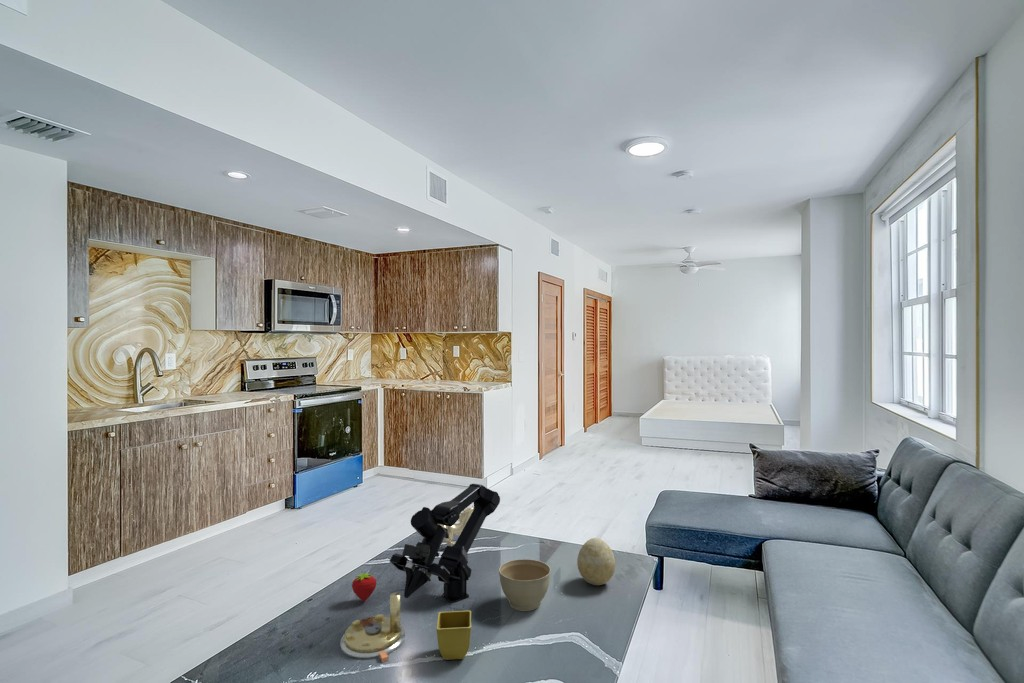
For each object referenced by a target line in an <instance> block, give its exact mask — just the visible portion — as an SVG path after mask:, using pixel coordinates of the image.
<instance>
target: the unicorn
mask: <svg viewBox="0 0 1024 683" xmlns="http://www.w3.org/2000/svg"><path fill="white" fill-rule="evenodd" d="M473 510H474V505H472V507H467V508H466V509H464V510H463V511H462V512H461V513H460V517H459V519H458V520H457V522H458V523H455V524H454V525H453V526H451V527H450V526H445V525H441V526H442V527H443V528H445V529H448V534H449V538H444V540H445V543H446V544H447V546H453V545H454V544H455V543H456V541H453V540H454V535H456V536H460V534H461V532H462V530H463V528H464V526H465V525H466V523H467V521H468V519H469V517H470V516H471V514H472V512H473ZM438 525H440V524H438Z"/></svg>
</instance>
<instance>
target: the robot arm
mask: <svg viewBox="0 0 1024 683" xmlns="http://www.w3.org/2000/svg"><path fill="white" fill-rule="evenodd" d="M500 502H501V496H500V495H499V493H498V491H493V490H492V489H489V488H488V487H486V486H484V485H483V484H478V483H471V484H469V486H468V487H467V488H466V489H464V490H463V491H462V492H460V493H459V494H458V495H456V496H455V497H454V498H452V499H451V500H449V501H448V500H447V501H444V502H440V503H438V504H436V505H435V506H434V507H433V509H430V508H429V507H427V506H423V507H422V508H421V510H418V511H417V512H415V514H412V516H411V518H410V525H411V527H412V528H413V529H414V530H415V531H416V532H417V533H418V534H419V536H421V537H423V538H422V540H421V541H418V542H417V543H416V544H415V545H412V544H407V543H405V544H404V547H403V550H402V554H399V553H397V552H396V553H393V554H392V555H391V557H390V559H389V563H390V564H391V565H392V566H394V567H395V568H396V569H397V570H398V571H400V572H401V571H402V572H405V576H406V577H405V584H404V585H405V586H404V592H403V597H404V598H405V599H409V598H410V597H411V596H412V595H413V594H414V593H415V592H416V591H417V590H419V589H420V588H421V587H423V586H424V585H425V584H427V582H431V581H432V579H431V578H432V577H431V576H432V575H433V576H437V579H438V582H441V583H443V592H442V596H443V595H444V596H445V597H444V596H443V597H444V598H446V600H448V601H449V602H450V603H455V602H458V601H461V600H464V599H467V598H469V597H470V594H468V593H467V587H468V586H467V581H469V579H470V578H471V576H472V568H470V566H469V565H468V563H469V561H468V560H469V557H468V553H469V551H470V548H472V545H473V544H474V541H475V539H476V538H477V536H478V533H479V531H480V530H481V528H482V526H483V524H484V522H485V520H486V518H487V517H488V516H490V515H492V514H493V513H494V512H495V510H497V508H498V506H499V505H500ZM472 504H473V507H474V510H473V512H472V514H471V516H470V517H469V519H468V521H467V523H466V525H465V526H464V528H463V530H462V532H461V534H460V535H458V538H457V539H456V541H455V542H456V543H455V544H452V545H453V546H449V545H447V546H445V548H444V550H443V551H442V553H441V555H440V552H439V550H440V547H441V546H442V545H443V544H442V543H443V541H444V540H445V538H449V534H448V529H445V528H443V527H442V526H441V525H445V526H450V527H451V526H453V525H454V524H457V522H458V519H459V518H460V513H462V512H464V511H463V510H465V509H467V508H469V506H471V505H472ZM438 524H440V525H438ZM439 556H440V557H439ZM435 558H439V560H438V562H437V563H435V562H434V561H435Z"/></svg>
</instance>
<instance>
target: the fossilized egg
mask: <svg viewBox="0 0 1024 683" xmlns="http://www.w3.org/2000/svg"><path fill="white" fill-rule="evenodd" d="M576 559H577V564H576V565H577V569H578V572H579V574H580V576H581V577H582V579H583V580H584V581H586V583H589V584H590V585H593V586H602V585H605V584H606V583H608V582H609V581H610V580H611V579H612V577H613V576H614V574H615V570H616V560H615V556H614V551H612V548H611V547H610V545H608V544H607V542H606V541H604V540H603V539H601V538H598V537H593V538H590V539H589V540H586V541H585V542H584V543H583V545H582V546H581V547H580V549H579V551H578V555H577V558H576Z"/></svg>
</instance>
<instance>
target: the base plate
mask: <svg viewBox="0 0 1024 683" xmlns="http://www.w3.org/2000/svg"><path fill="white" fill-rule="evenodd" d="M381 630H382V625H381V624H380V623H370V624H368V625H367V626H366V627H365V633H366V634H377V633H379V632H380V631H381ZM405 639H406V631H405V629H404V627H403V625H401V637H400V639H399V640H398V641H397V642H396V643H395V644H394V645H392V646H391V647H389V648H387V649H384V650H382V651H386V653H387V655H388V654H391V653H393V652H394V651H396V650H398V649H399V648H400V647H401V646H402V645H403V643H404V641H405ZM339 644H340V645H339V646H340V650H341V652H342V653H343V654H344V655H345V656H347V657H350V658H353V659H358V660H369V659H370V660H371V659H376V658H379V652H382V651H378V652H373V653H358V652H354V651H351V650H349V649H348V648H347V647H346V646H345V643H344V634H343V635H342V636H341V639H340V642H339Z"/></svg>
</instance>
